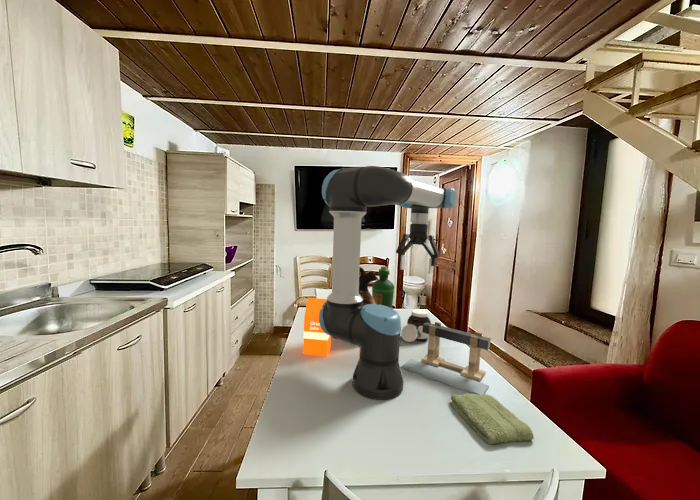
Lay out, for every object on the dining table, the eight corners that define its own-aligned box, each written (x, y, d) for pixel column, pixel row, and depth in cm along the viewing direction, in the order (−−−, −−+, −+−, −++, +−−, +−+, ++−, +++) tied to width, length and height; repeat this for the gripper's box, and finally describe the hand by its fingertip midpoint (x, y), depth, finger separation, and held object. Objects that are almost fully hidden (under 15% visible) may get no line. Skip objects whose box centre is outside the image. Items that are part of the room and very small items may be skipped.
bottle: (371, 319, 152) (373, 264, 150) (392, 321, 151) (395, 265, 148) (369, 326, 142) (372, 267, 139) (392, 328, 140) (395, 268, 138)
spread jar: (430, 336, 133) (432, 310, 132) (430, 346, 122) (432, 318, 121) (402, 332, 136) (404, 307, 135) (400, 342, 125) (401, 314, 124)
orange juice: (326, 356, 109) (328, 302, 107) (302, 354, 110) (304, 300, 108) (330, 347, 116) (332, 296, 115) (308, 345, 117) (309, 295, 116)
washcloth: (488, 399, 87) (489, 388, 86) (537, 443, 69) (538, 430, 69) (446, 402, 84) (447, 391, 84) (486, 449, 67) (487, 435, 67)
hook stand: (480, 381, 96) (483, 339, 94) (421, 361, 108) (423, 324, 107) (485, 374, 100) (488, 334, 99) (428, 356, 112) (430, 320, 111)
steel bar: (487, 350, 95) (488, 340, 95) (422, 332, 109) (422, 324, 108) (489, 347, 98) (490, 338, 97) (425, 330, 111) (426, 322, 111)
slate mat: (482, 397, 87) (482, 395, 87) (401, 367, 103) (401, 365, 102) (488, 387, 92) (489, 385, 92) (411, 360, 108) (411, 359, 108)
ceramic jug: (381, 333, 134) (384, 266, 131) (375, 346, 119) (379, 271, 116) (344, 328, 138) (346, 263, 135) (334, 341, 123) (336, 268, 120)
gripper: (450, 224, 128) (446, 274, 129) (398, 222, 143) (396, 267, 145) (443, 224, 122) (439, 276, 124) (390, 222, 137) (387, 268, 139)
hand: (416, 271), depth 134 cm, fingers open, 13 cm apart
